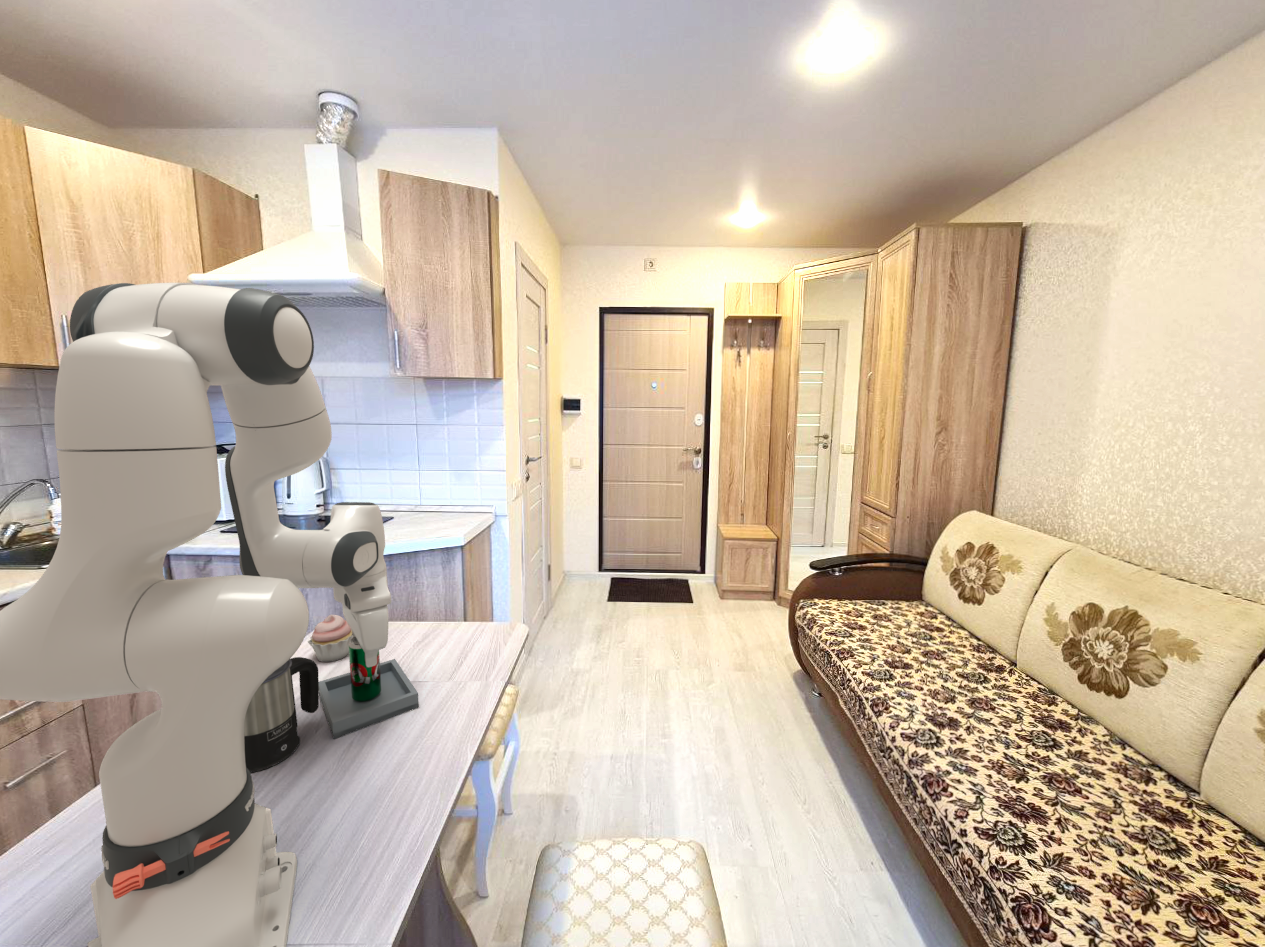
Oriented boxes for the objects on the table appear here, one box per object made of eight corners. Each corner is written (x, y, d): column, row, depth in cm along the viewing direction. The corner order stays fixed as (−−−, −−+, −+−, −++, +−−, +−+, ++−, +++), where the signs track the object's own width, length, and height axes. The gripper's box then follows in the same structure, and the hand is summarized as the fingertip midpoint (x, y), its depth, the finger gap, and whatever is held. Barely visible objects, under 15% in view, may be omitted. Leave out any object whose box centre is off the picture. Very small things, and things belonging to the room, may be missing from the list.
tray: (418, 707, 91) (418, 692, 91) (333, 739, 82) (332, 723, 82) (395, 671, 103) (394, 658, 103) (319, 696, 94) (318, 682, 94)
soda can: (376, 685, 97) (373, 629, 95) (385, 695, 93) (382, 638, 91) (348, 695, 93) (344, 637, 91) (356, 707, 90) (352, 647, 88)
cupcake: (300, 667, 104) (297, 624, 103) (321, 646, 113) (318, 606, 112) (347, 665, 106) (344, 622, 104) (363, 644, 115) (361, 604, 113)
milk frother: (271, 776, 74) (262, 687, 72) (171, 772, 74) (160, 684, 72) (330, 717, 88) (325, 641, 86) (247, 714, 88) (239, 639, 86)
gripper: (331, 574, 95) (336, 639, 97) (353, 607, 80) (358, 683, 82) (366, 567, 99) (370, 630, 101) (393, 598, 84) (397, 671, 86)
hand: (365, 654), depth 91 cm, fingers open, 8 cm apart
